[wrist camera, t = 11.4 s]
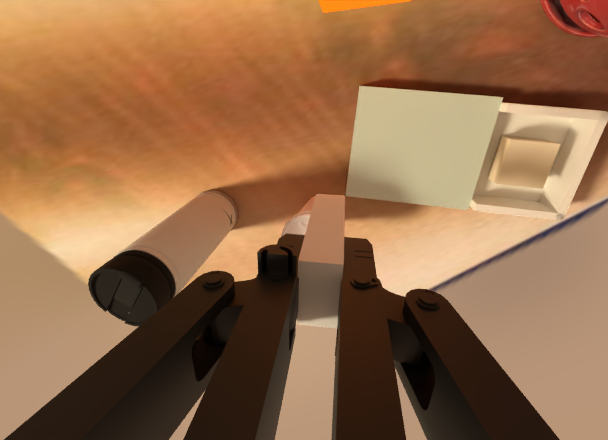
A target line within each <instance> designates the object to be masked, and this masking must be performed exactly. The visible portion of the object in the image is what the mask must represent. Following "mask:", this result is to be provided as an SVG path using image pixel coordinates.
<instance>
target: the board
mask: <svg viewBox="0 0 608 440" xmlns="http://www.w3.org/2000/svg"><path fill="white" fill-rule="evenodd" d="M502 100H503V97H494V96H482V95H469V94H457V93H444V92H432V91H419V90H407V89H394V88H381V87H369V86H359V94H358V101H357V109H356V116H355V124H354V131H353V139H352V146H351V154H350V161H349V169H348V176H347V184H346V194H345V196H349V197H358V198H367V199H376V200H384V201H393V202H402V203H411V204H420V205H428V206H437V207H446V208H455V209H463V210H469V207H470V204H471V200H472V197H473V194H474V191H475V187H476V184H477V181H478V178H479V174H480V171H481V168H482V165H483V161H484V158H485V155H486V152H487V148H488V145H489V142H490V139H491V136H492V132H493V129H494V126H495V123H496V119H497V116H498V113H499V110H500V106H501V103H502Z"/></svg>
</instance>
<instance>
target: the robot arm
mask: <svg viewBox="0 0 608 440" xmlns="http://www.w3.org/2000/svg"><path fill="white" fill-rule="evenodd" d="M344 226H345V195H330V194H316V196H315V200H314V204H313V207H312V211H311V215H310V218H309V222H308V226H307V229H306V233H305V235H300V234H287V233H286V234H285V235H283V236H282V237H281V238H279V240H278V243H277V245H269V246H265V247H263V248H261V249H260V250H259V251H258V252H257V254H258V275H257V277H256V278H255V279H252V280H247V281H239V282H234V277H233V276H232V275H231V274H230V273H227V272H224V271H212V272H208V273H205V274H202V275H201V276H199V277H198V278H196V279H195V280H194V281H193V282H192V283H190V284H189V285H188V286H187V287H186V288H184V289H183V290H182V291H181V292H180V293H178V294H177V295H176V296H175V297H174V298H172V299H171V300H170V301H169V302H168V303H166V304H165V305H164V306H163V307H162V308H160V309H159V310H158V311H157V312H156V313H155V314H153V315H152V316H151V317H150V318H149V319H147V320H146V321H145V322H144V323H143V324H141V325H140V326H139V327H138V328H137V329H136V330H134V331H133V332H132V333H131V334H129V335H128V336H127V337H126V338H125V339H124V340H123V341H121V342H120V343H119V344H118V345H116V346H115V347H114V348H113V349H112V350H110V351H109V352H108V353H107V354H106V355H104V356H103V357H102V358H101V359H100V360H98V361H97V362H96V363H95V364H94V365H93V366H91V367H90V368H89V369H88V370H86V372H84V373H83V374H82V375H81V376H79V377H78V378H77V379H76V380H75V381H73V382H72V383H71V384H70V385H69V386H67V387H66V388H65V389H64V390H63V391H62V392H60V393H59V394H58V395H57V396H56V397H54V398H53V399H52V400H51V401H49V402H48V403H47V404H46V405H45V406H44V407H42V408H41V409H40V410H39V411H38V412H36V413H35V414H34V415H33V416H32V417H30V418H29V419H28V420H27V421H26V422H24V423H23V424H22V425H21V426H20V427H18V428H17V429H16V430H15V431H14V432H13V433H11V434H10V435H9V436H8V437H7V438H5V439H4V440H169V438H170V437H171V436H172V434H173V433H174V432H175V430H176V429H177V428H178V426H179V425H180V424H181V422H182V421H183V419H184V418H185V417H186V415H187V414H188V413H189V411H190V410H191V409H192V407H193V406H194V405H195V403H196V402H197V400H198V399H199V398H200V396H201V395H202V394H203V392H204V391H205V393H204V395H203V397H202V400H201V402H200V404H199V406H198V408H197V410H196V413H195V415H194V417H193V420H192V422H191V424H190V426H189V428H188V431H187V433H186V435H185V437H184V439H183V440H275V435H276V429H277V425H278V420H279V414H280V410H281V405H282V400H283V394H284V389H285V384H286V379H287V374H288V369H289V364H290V359H291V354H292V349H293V344H294V339H295V326H296V320H297V324H301V325H310V326H319V327H328V328H337V338H336V349H335V356H336V357H335V379H334V399H333V420H332V440H406V436H405V430H404V423H403V416H402V410H401V404H400V397H399V391H398V385H397V379H396V372H395V368H396V370H397V372H398V375H399V377H400V379H401V381H402V383H403V386H404V388H405V390H406V393H407V395H408V397H409V400H410V402H411V404H412V406H413V409H414V411H415V413H416V415H417V418H418V419H419V422H420V424H421V426H422V429H423V431H424V433H425V436H426V438H427V440H559V438H558V437H557V436H556V434H555V433H554V432H553V431H552V430H551V428H550V427H549V426H548V425H547V423H546V422H545V421H544V420H543V419H542V417H541V416H540V415H539V413H538V412H537V411H536V410H535V408H534V407H533V406H532V405H531V403H530V402H529V401H528V400H527V399H526V397H525V396H524V395H523V393H521V391H520V390H519V388H518V387H517V386H516V385H515V384H514V382H513V381H512V380H511V379H510V377H509V376H508V375H507V374H506V372H505V371H504V370H503V369H502V367H501V366H500V365H499V364H498V362H497V361H496V360H495V359H494V357H493V356H492V355H491V354H490V353H489V351H488V350H487V349H486V347H485V346H484V345H483V344H482V343H481V341H480V340H479V339H478V338H477V336H476V335H475V334H474V333H473V331H472V330H471V329H470V328H469V327H468V325H467V324H466V323H465V321H464V320H463V319H462V318H461V316H460V315H459V314H458V313H457V312H456V310H455V309H454V308H453V306H452V305H451V304H450V303H449V302H448V300H446V299H445V298H444V297H443V296H442V295H440V294H438V293H436V292H434V291H431V290H427V289H414V290H411V291H409V292H408V293H407V294H406V297H403V296H400V295H397V294H394V293H391V292H389V291H387V290H386V289H384V288H383V287H382V284H381V282H380V280H379V279H378V278H377V275H376V269H375V262H374V255H373V248H372V244H371V243H370V242H369V241H368V240H367V239H361V238H348V237H344Z"/></svg>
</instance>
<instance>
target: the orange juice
mask: <svg viewBox="0 0 608 440" xmlns="http://www.w3.org/2000/svg"><path fill="white" fill-rule="evenodd" d="M406 1H411V0H319V3H320V5H321V8H322V11H323V13H326V12H333V11H340V10H348V9H355V8H362V7H370V6H377V5H384V4H392V3H399V2H406Z"/></svg>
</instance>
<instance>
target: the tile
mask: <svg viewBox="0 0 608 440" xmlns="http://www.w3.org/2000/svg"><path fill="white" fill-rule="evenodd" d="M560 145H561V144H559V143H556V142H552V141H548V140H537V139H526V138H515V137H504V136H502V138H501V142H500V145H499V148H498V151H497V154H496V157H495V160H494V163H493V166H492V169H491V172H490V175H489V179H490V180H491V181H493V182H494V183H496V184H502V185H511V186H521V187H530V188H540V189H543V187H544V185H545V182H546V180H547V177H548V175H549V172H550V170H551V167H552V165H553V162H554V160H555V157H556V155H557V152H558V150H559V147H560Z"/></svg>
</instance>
